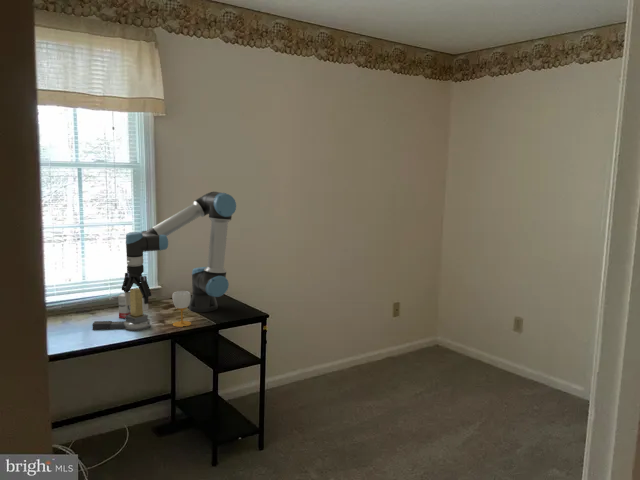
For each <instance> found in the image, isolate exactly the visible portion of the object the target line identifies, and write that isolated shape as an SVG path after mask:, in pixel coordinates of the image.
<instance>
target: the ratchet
mask: <svg viewBox="0 0 640 480" xmlns="http://www.w3.org/2000/svg"><path fill="white" fill-rule="evenodd" d="M148 316H149V315H148V314H146V313H143V316H140V317H136V318H135V317H132V316H131V314H130V315H126V318H125V320H123V321H121V320H120V321H118V320H117V321H113V320H98V321H97V320H95V321H93V322H92V325H91V326H92V331H95V330H96V331H97V330H99V331H100V330H101V331H102V330H103V331H104V330H124V331H127V332H141V331H146V330H147V329H149V328H150V327H151V320H150V319H149V318H148Z"/></svg>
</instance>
